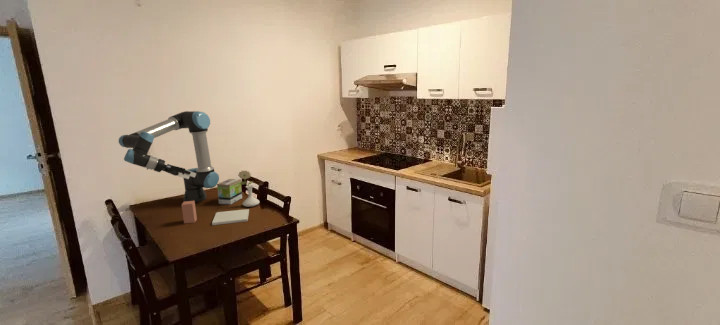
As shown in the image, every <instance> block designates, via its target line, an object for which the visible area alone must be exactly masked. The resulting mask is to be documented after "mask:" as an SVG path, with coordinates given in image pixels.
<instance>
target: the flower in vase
mask: <svg viewBox="0 0 720 325" xmlns="http://www.w3.org/2000/svg"><path fill="white" fill-rule="evenodd" d="M238 177H239V179H241V180H242V179H243V180H247V179H250V178H251V172H250V171H249V170H241V171H240V172H239V173H238ZM253 182H254V181H253V180H252V181H250V182H248V183H247V182H246V181H241V183H240V184H241V185H243V186H244V185H246V186H245V188H246V189H247V193H248V197H246V199H245V200H243V202H242V205H243V207H246V208H247V207H249V208H251V207H255V206H257V205H259V204H260V200H259V199H258V198H256V197H254V196H253V187H254V185H252V183H253Z"/></svg>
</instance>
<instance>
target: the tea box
mask: <svg viewBox="0 0 720 325" xmlns="http://www.w3.org/2000/svg"><path fill="white" fill-rule="evenodd" d="M241 182H242V179H241V178H239V179H237V178H228V179H226V180H224V181H221V182H218V183H217V185H216V186H217V197H218V204H219V205H233V204H234V203H236V202H238V201H239V200H241V199H243V190H242V188H243V187H242V184H240V183H241Z"/></svg>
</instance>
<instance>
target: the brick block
mask: <svg viewBox="0 0 720 325" xmlns="http://www.w3.org/2000/svg"><path fill="white" fill-rule="evenodd" d="M181 211H182V217H183V224H184V225H186V224H191V223H192V224H194V223H196V221H197V219H198V217H197V209H196V202H195V201H185V202H184V201H183V202H182V203H181Z"/></svg>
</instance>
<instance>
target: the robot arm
mask: <svg viewBox="0 0 720 325" xmlns="http://www.w3.org/2000/svg"><path fill="white" fill-rule="evenodd" d="M210 125H211V119H210V117H209V115H208V114H207V113H206V112H204V111H199V110H194V111H188V110H187V111H186V110H185V111H182V112H179V113H176V114H174V115H171V116H169V117H168V119H165V120H163V121H161V122H158V123H156V124H154V125H151V126H147V127H145V128H143V129H141V130H138V131H136V132H133V133H129V134H123V135H121V136H120V137H119V138H118V144H119V145H120V146H121V147H122V148H126V149H127V151H126V152H125V154H124V158H123V160H124V162H127V163H130V164H132V165H135V166H138V167H141V168H145V169H146V170H151V171H154V172H157V173H161V172H165V173H168V174H170V175H173V176H174V177H175V176H178V177H179V178H180V177H181V178H183V183H184V184H183V186H184V195H183V202H185V201H195V203H198V202H203V201H205V200H206V199H207V198H208V197H207V194H206V192H205V190H204V188H205V189H213V188H215V187H216V186H217V184H219V180H220V176H219V174H218V173H217V172H216V171H215V168H214V167H213V166H212V164H211V163H212V161H211V157H210V151H209V145H208V138H207V133H208V131H209V130H208V128H209V127H210ZM181 129H188V133H190V134H191V135H192V136H191V137H192V141H193V146H194V151H195V159H196V163H197V167H194V168H188V169H186V168H184V167H180V166H176V165H172V164H169V163H168V164H167V163H166V161H165V160H164V159H161V158H158V157H155V156H153V155H149V154H148V153H149V150H150V149H151V147H152V144H153V142H154V139H155V138H158V137H161V136H162V135H165V134H167V133H170V132H172V131H178V130H181Z"/></svg>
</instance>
